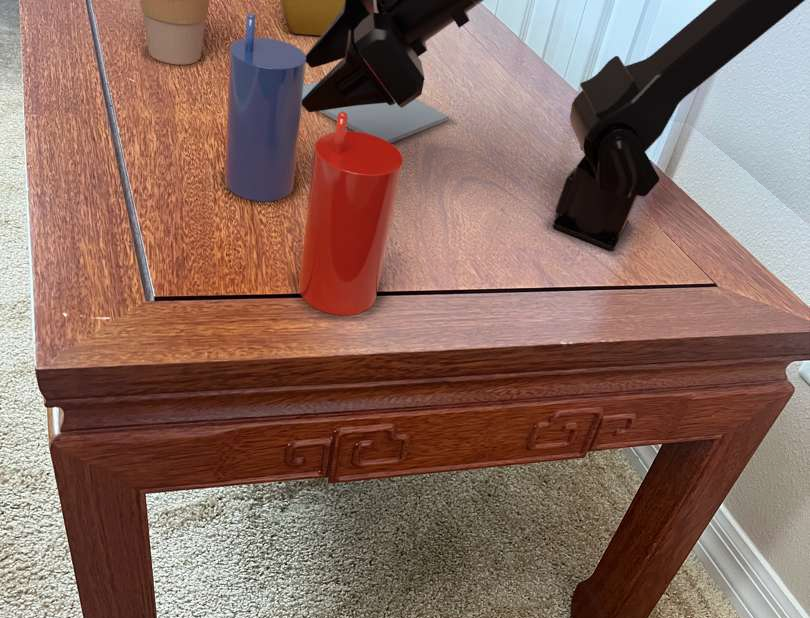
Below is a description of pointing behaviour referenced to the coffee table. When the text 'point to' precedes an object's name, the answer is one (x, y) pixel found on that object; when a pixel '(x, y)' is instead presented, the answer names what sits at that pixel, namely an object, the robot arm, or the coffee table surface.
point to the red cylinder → (348, 219)
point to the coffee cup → (175, 29)
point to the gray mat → (386, 118)
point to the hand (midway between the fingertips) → (306, 83)
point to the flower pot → (311, 15)
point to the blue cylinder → (263, 116)
